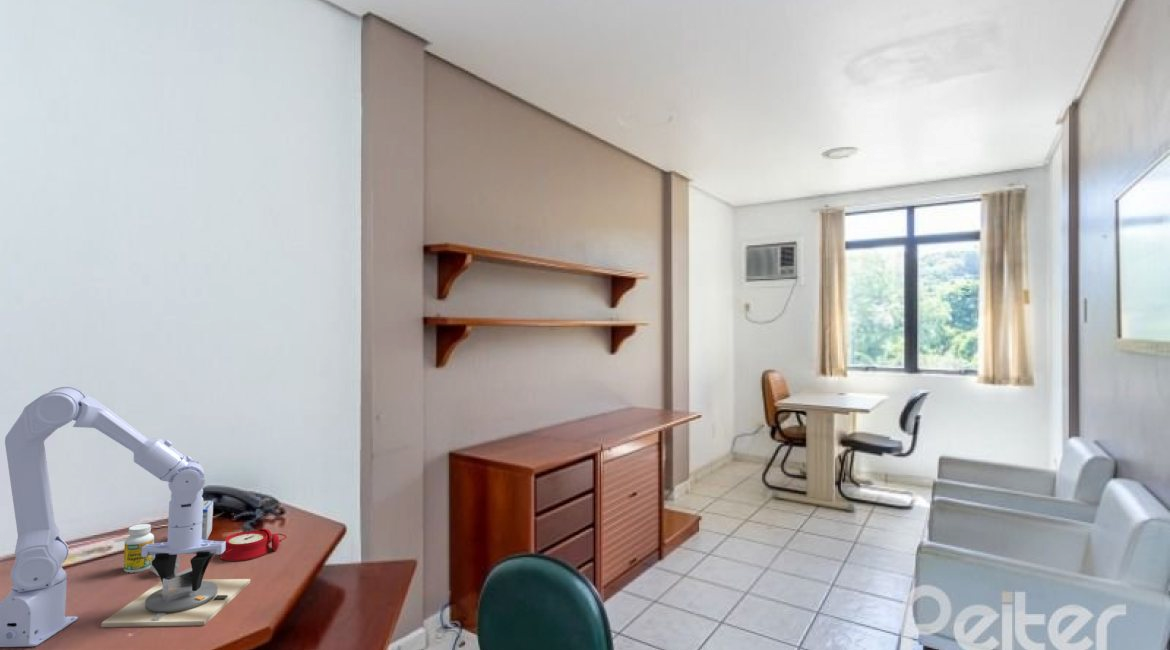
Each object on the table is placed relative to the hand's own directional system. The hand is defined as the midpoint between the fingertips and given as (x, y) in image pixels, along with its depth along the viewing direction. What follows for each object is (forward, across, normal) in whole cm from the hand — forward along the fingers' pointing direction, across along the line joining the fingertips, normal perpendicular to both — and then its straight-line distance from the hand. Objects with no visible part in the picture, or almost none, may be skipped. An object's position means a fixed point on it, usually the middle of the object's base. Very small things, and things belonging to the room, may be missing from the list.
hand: (182, 589), depth 115 cm
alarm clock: (+3, -4, -27) cm, 27 cm away
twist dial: (+3, 0, 0) cm, 3 cm away
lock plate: (+3, 0, 0) cm, 3 cm away
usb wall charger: (+3, +10, -15) cm, 18 cm away
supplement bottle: (+3, +17, -19) cm, 26 cm away
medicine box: (+3, +13, -37) cm, 40 cm away
